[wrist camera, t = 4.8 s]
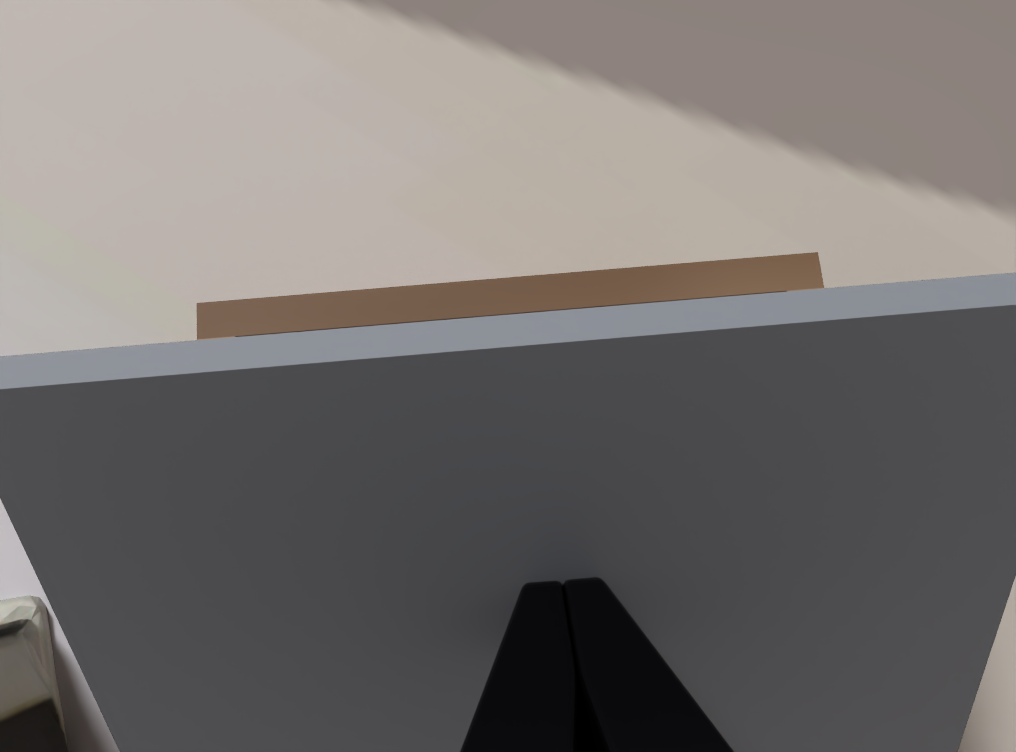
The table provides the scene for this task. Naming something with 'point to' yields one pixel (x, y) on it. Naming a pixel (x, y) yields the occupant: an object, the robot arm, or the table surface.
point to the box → (508, 296)
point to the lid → (532, 513)
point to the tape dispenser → (28, 680)
